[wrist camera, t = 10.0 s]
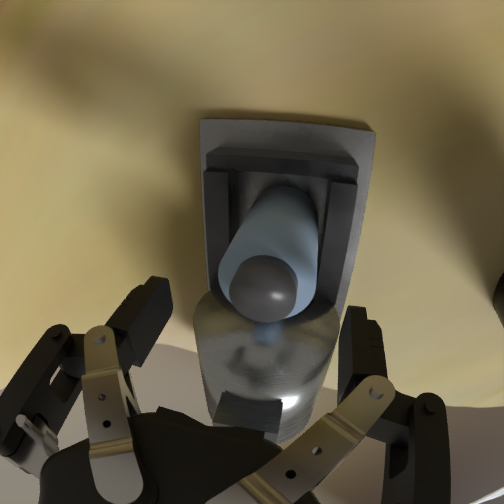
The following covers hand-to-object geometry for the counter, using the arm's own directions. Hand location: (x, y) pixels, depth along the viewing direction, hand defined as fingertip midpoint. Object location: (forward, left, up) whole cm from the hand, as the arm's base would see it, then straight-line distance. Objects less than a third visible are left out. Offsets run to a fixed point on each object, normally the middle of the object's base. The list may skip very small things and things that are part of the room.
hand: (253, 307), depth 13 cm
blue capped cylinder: (0, 0, -10) cm, 10 cm away
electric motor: (+5, 0, -11) cm, 13 cm away
